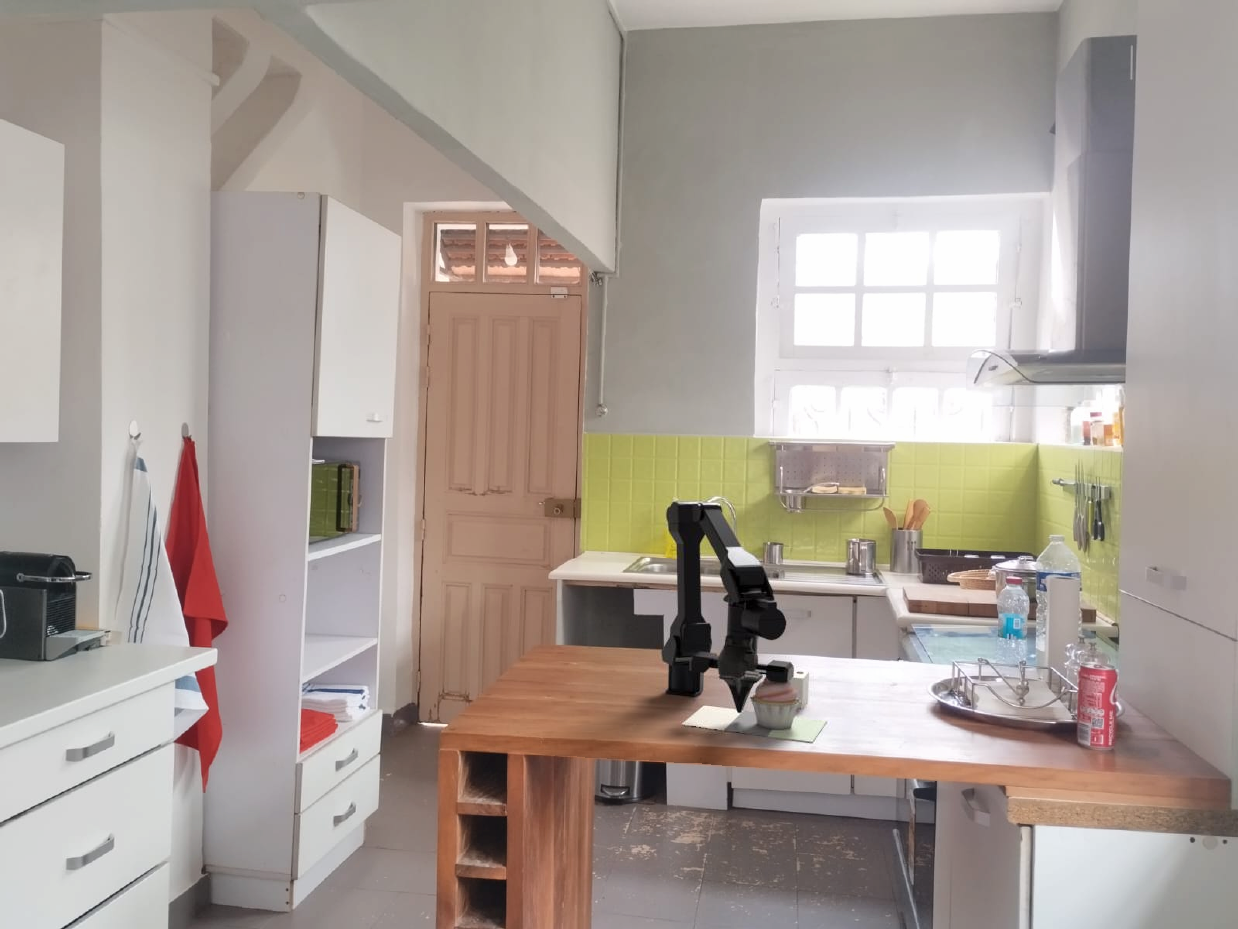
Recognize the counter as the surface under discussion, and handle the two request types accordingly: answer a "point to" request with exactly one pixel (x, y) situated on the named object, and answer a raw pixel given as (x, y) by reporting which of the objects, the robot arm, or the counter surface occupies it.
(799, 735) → the game board
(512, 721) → the counter surface
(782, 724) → the cupcake
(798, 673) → the white cube
